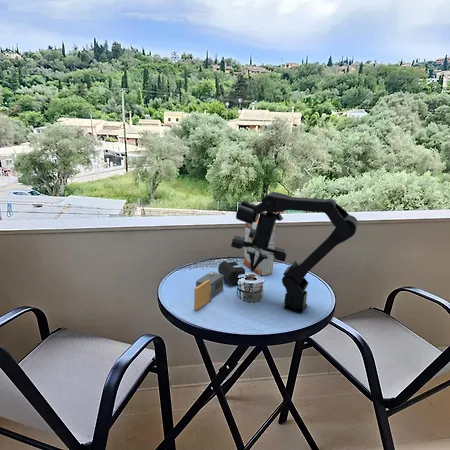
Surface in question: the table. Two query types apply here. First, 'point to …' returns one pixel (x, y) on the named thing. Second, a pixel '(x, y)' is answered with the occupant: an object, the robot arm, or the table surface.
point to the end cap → (231, 272)
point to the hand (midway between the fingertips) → (251, 271)
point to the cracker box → (266, 264)
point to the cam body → (213, 282)
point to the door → (202, 294)
